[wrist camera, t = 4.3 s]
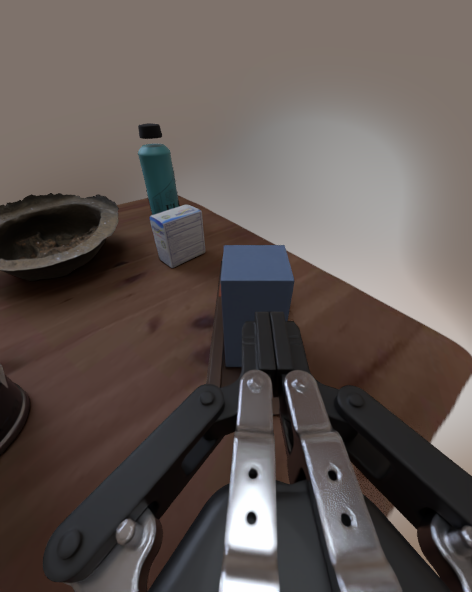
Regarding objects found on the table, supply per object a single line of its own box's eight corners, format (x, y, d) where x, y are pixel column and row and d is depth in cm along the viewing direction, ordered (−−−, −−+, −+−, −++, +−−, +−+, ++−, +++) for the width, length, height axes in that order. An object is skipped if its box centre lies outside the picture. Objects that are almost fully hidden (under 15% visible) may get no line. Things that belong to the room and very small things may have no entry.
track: (203, 414, 24) (201, 407, 23) (221, 262, 46) (221, 255, 45) (305, 415, 24) (308, 409, 23) (275, 262, 45) (276, 255, 45)
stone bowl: (78, 221, 60) (63, 181, 54) (156, 253, 52) (148, 210, 46) (-52, 270, 43) (-95, 219, 37) (32, 328, 35) (-5, 275, 29)
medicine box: (192, 245, 51) (186, 203, 45) (206, 253, 48) (202, 209, 43) (159, 260, 46) (148, 215, 41) (172, 269, 44) (162, 223, 38)
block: (225, 367, 28) (220, 280, 20) (228, 327, 32) (224, 244, 25) (279, 367, 27) (294, 280, 20) (274, 328, 32) (284, 245, 24)
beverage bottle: (170, 234, 55) (149, 126, 42) (148, 228, 57) (122, 124, 45) (188, 223, 59) (174, 122, 46) (167, 218, 62) (148, 121, 49)
